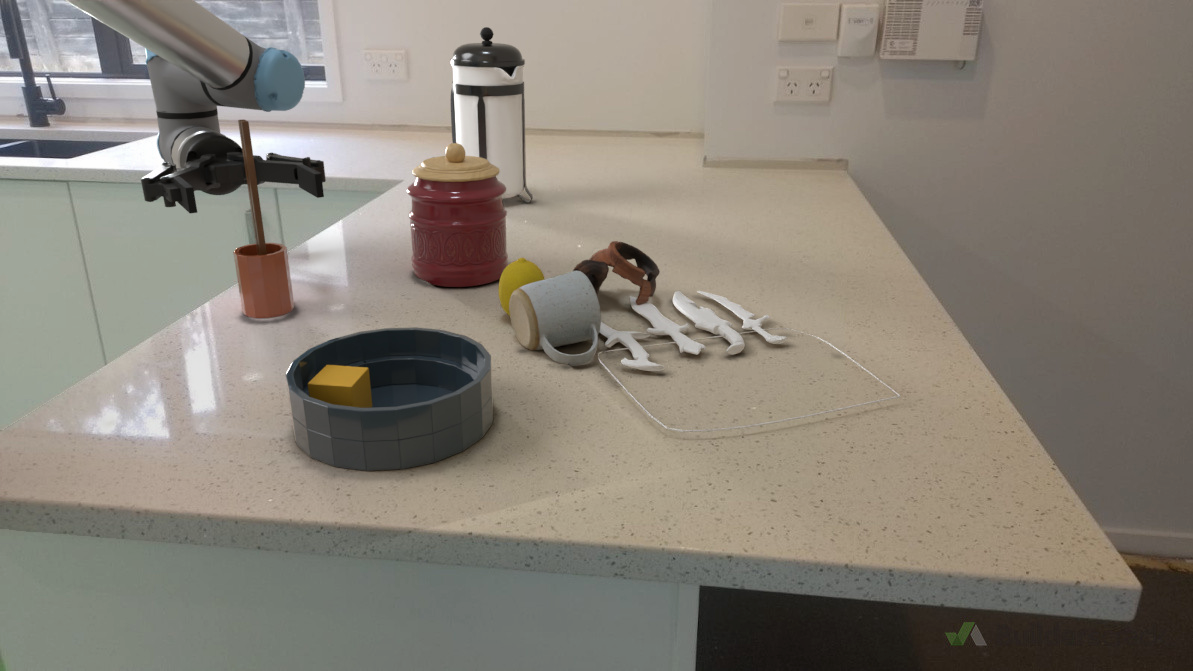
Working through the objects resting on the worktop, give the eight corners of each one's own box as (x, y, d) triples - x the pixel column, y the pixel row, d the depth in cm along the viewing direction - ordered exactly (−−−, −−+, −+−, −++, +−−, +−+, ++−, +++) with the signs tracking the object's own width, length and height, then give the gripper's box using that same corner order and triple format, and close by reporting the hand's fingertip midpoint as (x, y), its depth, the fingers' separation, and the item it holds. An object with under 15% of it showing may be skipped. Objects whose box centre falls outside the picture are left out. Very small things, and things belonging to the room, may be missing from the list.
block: (312, 424, 74) (307, 383, 72) (331, 403, 77) (326, 364, 76) (356, 427, 73) (351, 386, 72) (372, 406, 77) (369, 367, 76)
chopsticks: (269, 312, 99) (241, 121, 90) (265, 308, 100) (237, 119, 91) (275, 311, 99) (248, 121, 90) (271, 307, 100) (244, 119, 92)
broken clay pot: (601, 287, 112) (632, 237, 109) (646, 332, 108) (680, 281, 104) (540, 284, 103) (573, 229, 100) (587, 333, 98) (622, 277, 95)
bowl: (273, 481, 66) (263, 414, 64) (316, 386, 82) (309, 329, 80) (492, 472, 68) (490, 406, 66) (493, 380, 84) (491, 325, 82)
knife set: (735, 288, 111) (736, 280, 110) (914, 403, 80) (915, 392, 80) (549, 309, 102) (549, 300, 102) (670, 446, 72) (671, 435, 72)
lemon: (502, 333, 95) (500, 266, 92) (497, 316, 100) (495, 251, 97) (550, 330, 96) (549, 264, 93) (543, 313, 101) (542, 249, 98)
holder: (238, 323, 97) (227, 256, 94) (251, 306, 102) (241, 242, 99) (288, 322, 98) (279, 256, 94) (298, 305, 103) (290, 242, 100)
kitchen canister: (507, 288, 109) (503, 152, 103) (406, 289, 109) (396, 152, 102) (509, 259, 121) (506, 135, 115) (419, 259, 120) (410, 134, 114)
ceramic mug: (507, 339, 94) (503, 274, 91) (572, 324, 97) (570, 261, 94) (548, 376, 85) (545, 306, 82) (618, 358, 89) (617, 290, 86)
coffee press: (542, 192, 161) (541, 26, 149) (521, 213, 146) (517, 30, 135) (456, 188, 163) (447, 24, 152) (426, 207, 149) (415, 27, 137)
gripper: (310, 179, 116) (369, 211, 100) (107, 202, 102) (138, 243, 87) (304, 124, 113) (364, 148, 97) (94, 139, 99) (124, 170, 84)
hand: (258, 192), depth 92 cm, fingers open, 13 cm apart
